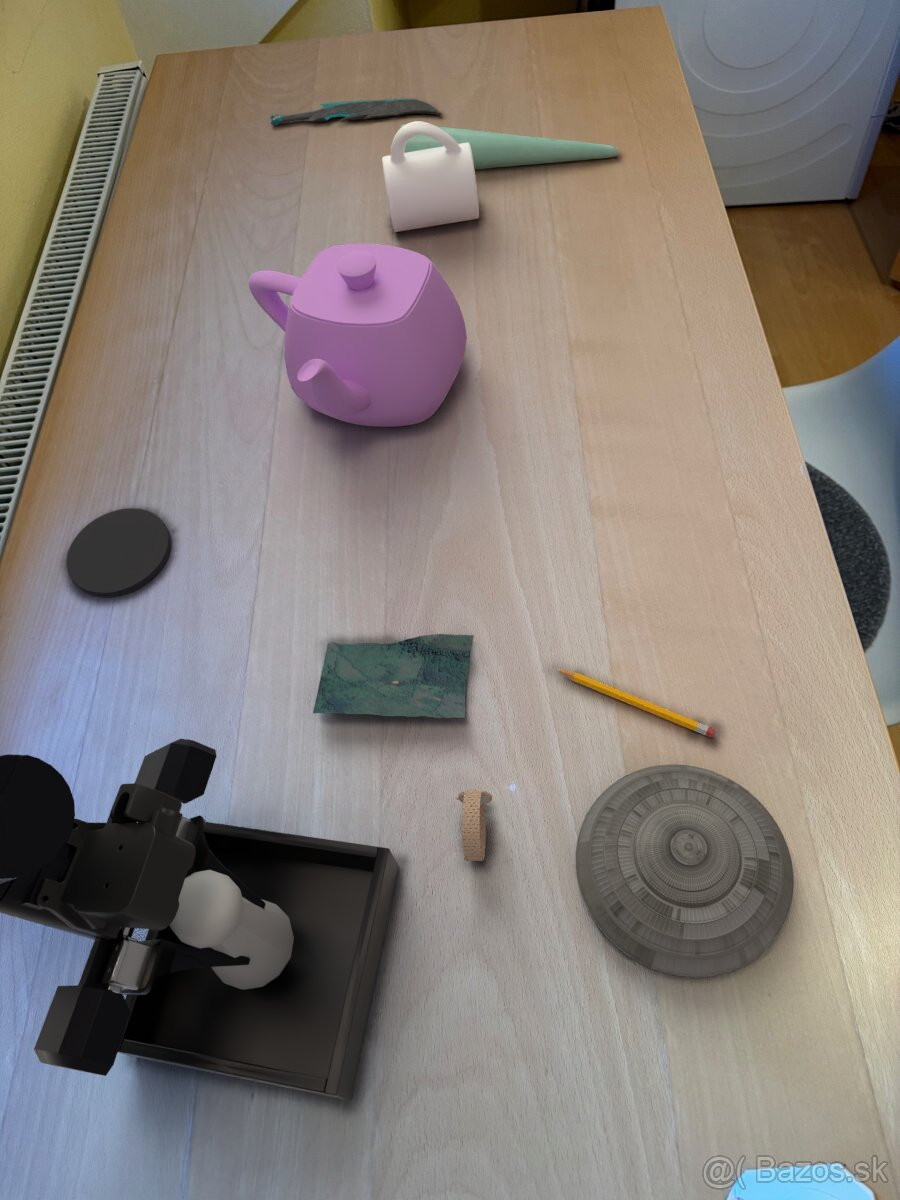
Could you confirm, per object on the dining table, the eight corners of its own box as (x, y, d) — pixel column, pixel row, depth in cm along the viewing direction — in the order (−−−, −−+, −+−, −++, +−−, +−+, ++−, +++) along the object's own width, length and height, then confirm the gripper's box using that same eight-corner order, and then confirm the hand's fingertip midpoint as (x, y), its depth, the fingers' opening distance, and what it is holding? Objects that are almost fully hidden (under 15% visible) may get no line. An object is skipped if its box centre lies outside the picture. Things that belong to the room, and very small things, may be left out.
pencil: (711, 739, 70) (712, 736, 69) (553, 674, 75) (553, 670, 74) (714, 731, 70) (715, 727, 70) (557, 666, 75) (557, 662, 74)
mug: (481, 232, 108) (472, 135, 98) (396, 246, 108) (378, 151, 98) (473, 192, 112) (464, 95, 102) (391, 206, 113) (374, 110, 103)
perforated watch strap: (494, 807, 69) (489, 783, 65) (493, 869, 67) (488, 848, 62) (459, 807, 70) (452, 783, 65) (457, 869, 67) (450, 848, 63)
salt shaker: (254, 893, 65) (193, 835, 54) (317, 934, 63) (267, 882, 52) (203, 967, 63) (129, 922, 52) (267, 1012, 61) (204, 975, 50)
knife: (274, 109, 128) (268, 129, 125) (272, 101, 127) (266, 121, 124) (445, 98, 125) (442, 118, 122) (444, 91, 124) (441, 111, 121)
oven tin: (135, 1057, 62) (107, 1049, 59) (206, 837, 70) (185, 818, 67) (351, 1101, 59) (336, 1095, 56) (399, 866, 68) (389, 848, 64)
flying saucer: (830, 856, 64) (850, 832, 60) (711, 1031, 59) (723, 1018, 55) (654, 735, 71) (659, 704, 66) (533, 882, 66) (530, 860, 61)
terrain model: (315, 723, 75) (310, 713, 73) (329, 644, 79) (324, 632, 77) (469, 726, 73) (467, 715, 71) (475, 644, 77) (473, 633, 76)
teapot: (308, 316, 103) (271, 195, 90) (484, 338, 98) (471, 214, 85) (223, 465, 92) (168, 351, 79) (417, 500, 87) (390, 384, 74)
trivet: (82, 614, 84) (78, 609, 83) (60, 539, 89) (56, 534, 88) (183, 569, 85) (180, 564, 84) (156, 498, 90) (153, 493, 90)
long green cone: (620, 126, 107) (397, 140, 110) (618, 169, 111) (404, 181, 115) (619, 101, 110) (402, 115, 113) (617, 144, 114) (409, 156, 118)
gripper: (-27, 1046, 40) (275, 1111, 47) (126, 674, 49) (357, 775, 57) (-78, 1037, 48) (187, 1094, 55) (62, 718, 57) (272, 802, 65)
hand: (254, 934), depth 58 cm, fingers closed on salt shaker, 3 cm apart
